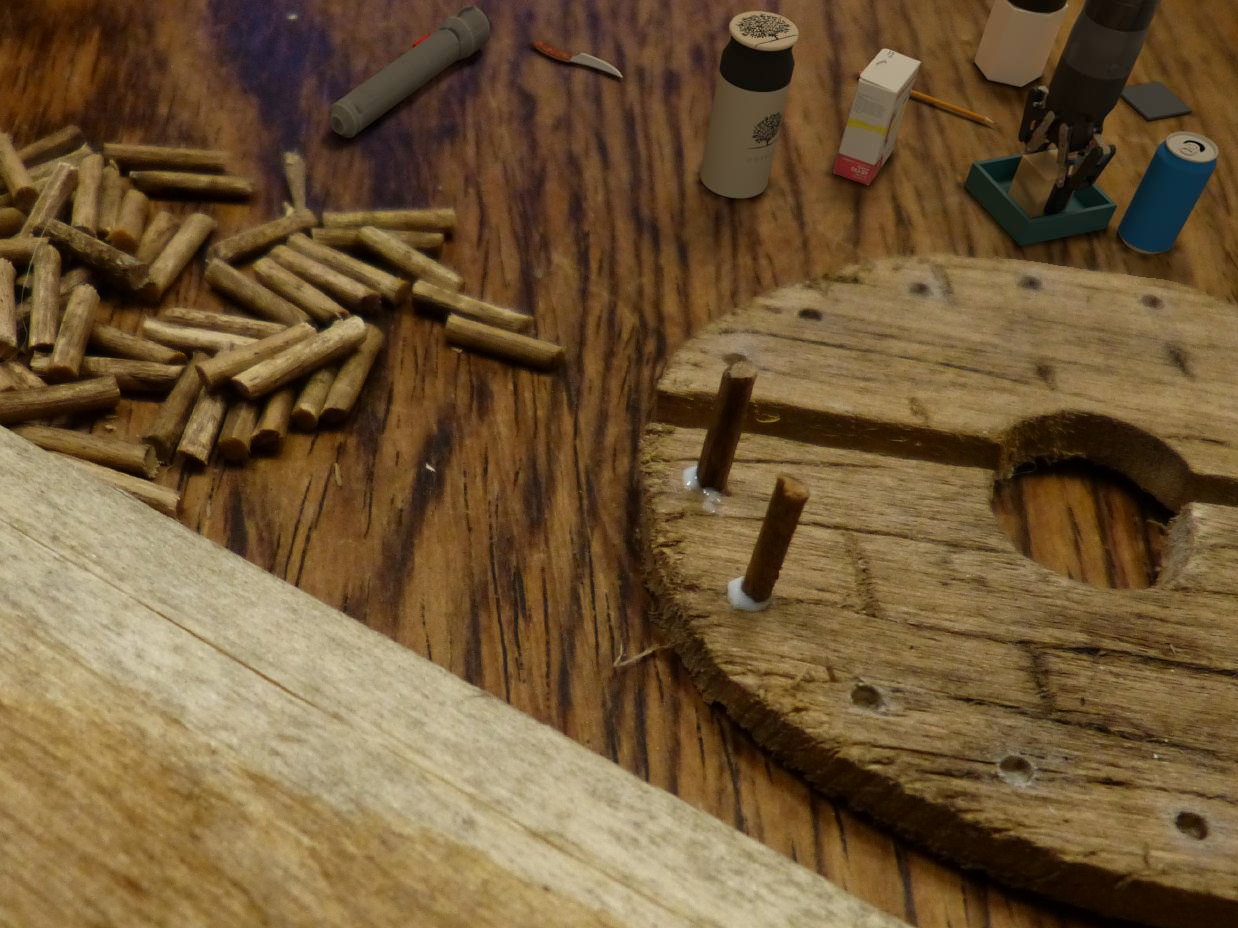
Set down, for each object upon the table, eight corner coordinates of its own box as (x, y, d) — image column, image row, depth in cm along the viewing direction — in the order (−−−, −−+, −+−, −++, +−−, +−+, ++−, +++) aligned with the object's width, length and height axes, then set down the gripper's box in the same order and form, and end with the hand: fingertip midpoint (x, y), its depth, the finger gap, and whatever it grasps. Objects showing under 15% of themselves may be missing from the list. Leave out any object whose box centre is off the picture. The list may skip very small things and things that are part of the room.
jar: (1001, 45, 172) (1034, -48, 162) (1051, 72, 169) (1088, -21, 159) (961, 66, 168) (993, -28, 158) (1012, 94, 165) (1048, 0, 155)
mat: (1190, 113, 165) (1192, 110, 165) (1147, 120, 163) (1148, 117, 163) (1158, 84, 169) (1159, 81, 168) (1115, 91, 167) (1116, 88, 167)
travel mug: (688, 167, 151) (714, 14, 136) (748, 156, 153) (780, 5, 138) (717, 205, 147) (747, 52, 132) (778, 194, 149) (814, 42, 134)
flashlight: (346, 154, 150) (315, 123, 149) (482, 53, 164) (454, 24, 163) (359, 126, 146) (327, 93, 145) (497, 25, 159) (468, -5, 159)
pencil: (857, 77, 165) (858, 71, 164) (859, 74, 165) (861, 68, 164) (994, 128, 160) (996, 122, 159) (996, 125, 160) (998, 119, 159)
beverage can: (1181, 243, 148) (1233, 148, 138) (1153, 265, 145) (1204, 170, 136) (1133, 217, 151) (1181, 122, 141) (1104, 238, 148) (1151, 143, 138)
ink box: (868, 187, 151) (897, 92, 141) (830, 173, 152) (856, 78, 142) (893, 153, 155) (923, 59, 145) (856, 140, 156) (883, 45, 147)
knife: (631, 66, 161) (622, 76, 160) (631, 70, 162) (621, 81, 160) (538, 36, 164) (528, 46, 162) (538, 40, 165) (527, 50, 163)
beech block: (1065, 211, 149) (1083, 172, 145) (1030, 218, 148) (1047, 179, 144) (1042, 187, 152) (1058, 148, 148) (1007, 193, 151) (1022, 155, 147)
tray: (1106, 228, 149) (1117, 205, 146) (1019, 246, 146) (1029, 222, 143) (1048, 170, 155) (1058, 146, 153) (963, 185, 152) (972, 162, 150)
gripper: (1167, 87, 133) (1099, 229, 147) (1088, 18, 140) (1030, 159, 154) (1109, 97, 131) (1045, 239, 145) (1032, 27, 138) (978, 168, 152)
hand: (1038, 197), depth 150 cm, fingers closed on beech block, 5 cm apart
